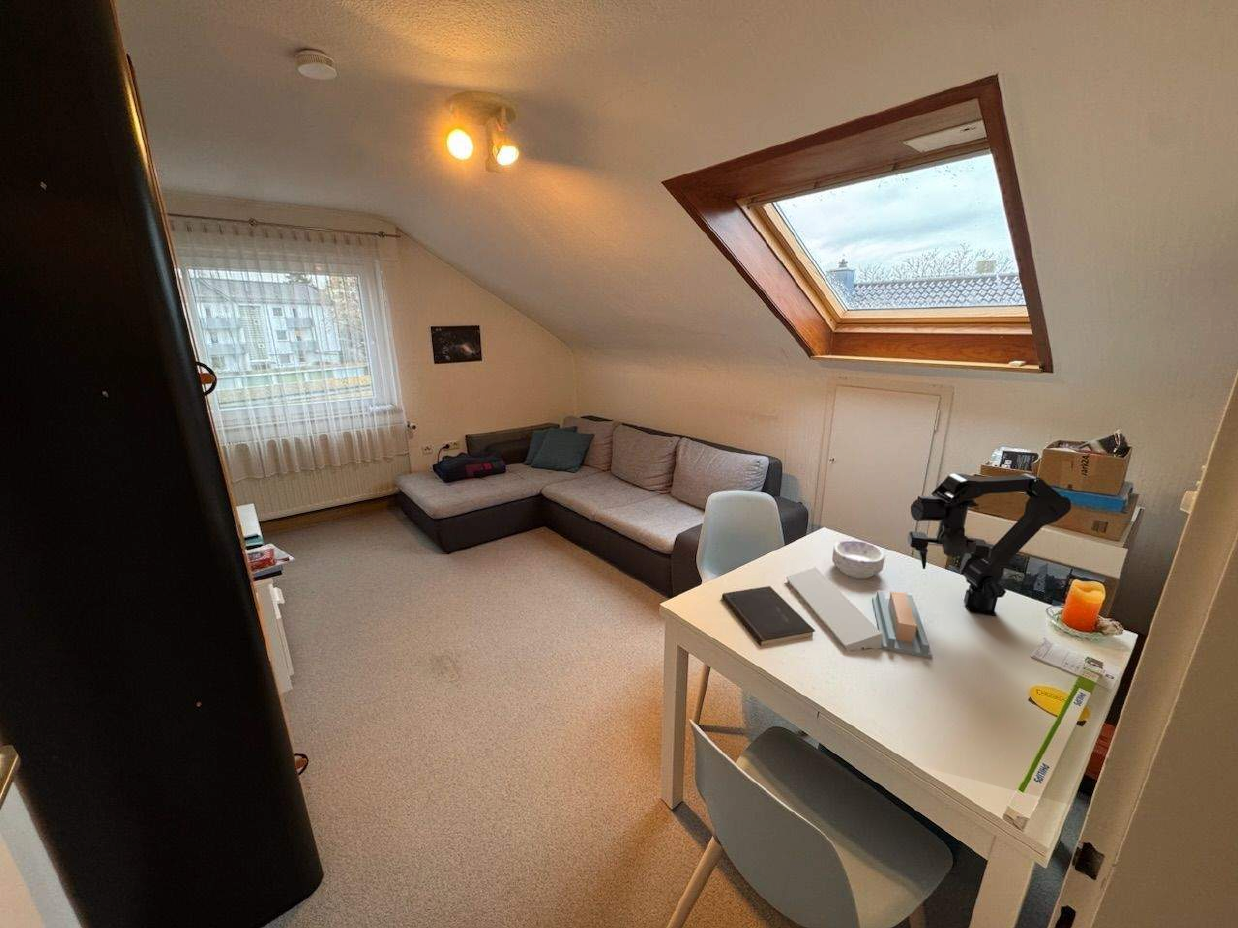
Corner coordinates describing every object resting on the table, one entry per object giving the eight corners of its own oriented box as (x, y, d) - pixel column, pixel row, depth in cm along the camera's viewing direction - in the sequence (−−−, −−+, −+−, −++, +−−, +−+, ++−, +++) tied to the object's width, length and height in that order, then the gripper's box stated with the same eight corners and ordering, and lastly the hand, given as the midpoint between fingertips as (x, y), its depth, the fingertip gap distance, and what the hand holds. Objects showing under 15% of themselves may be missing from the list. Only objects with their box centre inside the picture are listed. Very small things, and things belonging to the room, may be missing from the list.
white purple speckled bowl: (843, 584, 158) (846, 561, 155) (823, 560, 172) (826, 539, 170) (891, 583, 158) (894, 560, 156) (867, 560, 172) (870, 539, 170)
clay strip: (903, 608, 143) (906, 593, 141) (913, 642, 128) (916, 625, 127) (888, 606, 144) (890, 591, 143) (895, 639, 130) (898, 622, 128)
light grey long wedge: (847, 660, 128) (884, 648, 128) (845, 645, 127) (882, 633, 127) (788, 589, 160) (817, 579, 161) (786, 576, 159) (815, 567, 159)
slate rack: (913, 606, 146) (915, 595, 145) (931, 658, 124) (934, 646, 123) (872, 599, 149) (873, 589, 148) (882, 649, 128) (884, 637, 127)
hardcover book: (769, 592, 155) (769, 585, 154) (814, 637, 133) (815, 630, 133) (721, 600, 151) (721, 593, 150) (760, 647, 130) (760, 640, 129)
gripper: (919, 527, 132) (909, 579, 137) (1003, 537, 126) (990, 591, 131) (911, 511, 142) (903, 561, 147) (989, 520, 136) (977, 571, 141)
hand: (942, 571), depth 141 cm, fingers open, 9 cm apart
